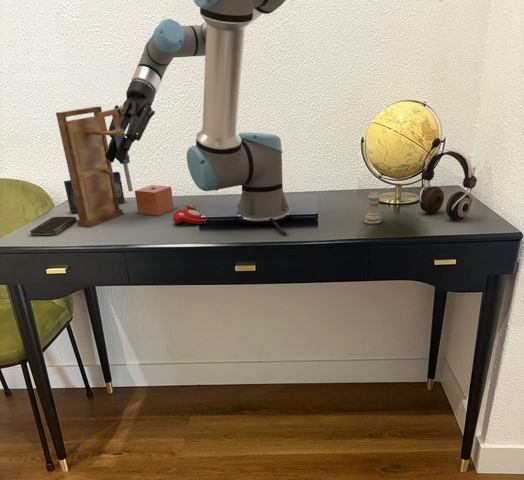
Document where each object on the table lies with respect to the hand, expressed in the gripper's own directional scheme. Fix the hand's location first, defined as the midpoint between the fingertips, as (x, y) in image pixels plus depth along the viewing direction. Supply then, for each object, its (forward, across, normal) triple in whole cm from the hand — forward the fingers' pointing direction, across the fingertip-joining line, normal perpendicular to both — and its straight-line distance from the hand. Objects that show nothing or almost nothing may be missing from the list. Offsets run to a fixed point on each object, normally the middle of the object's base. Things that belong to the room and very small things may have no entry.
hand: (113, 159), depth 149 cm
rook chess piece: (-5, -67, -30) cm, 74 cm away
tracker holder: (+6, -18, -20) cm, 27 cm away
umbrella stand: (+3, 0, -23) cm, 23 cm away
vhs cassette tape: (+5, +22, -21) cm, 31 cm away
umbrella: (+5, 0, -8) cm, 10 cm away
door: (+12, +4, -13) cm, 19 cm away
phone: (+21, +18, -5) cm, 28 cm away
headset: (-13, -84, -39) cm, 93 cm away
